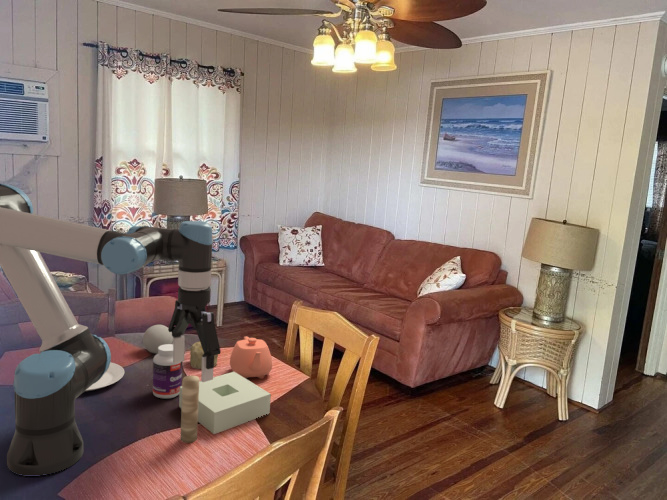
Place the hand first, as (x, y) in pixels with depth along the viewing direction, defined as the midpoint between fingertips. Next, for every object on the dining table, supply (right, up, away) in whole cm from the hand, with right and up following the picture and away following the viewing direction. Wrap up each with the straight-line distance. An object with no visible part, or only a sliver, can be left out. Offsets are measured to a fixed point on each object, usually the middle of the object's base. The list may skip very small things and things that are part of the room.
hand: (192, 370), depth 126 cm
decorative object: (-10, -9, +48) cm, 50 cm away
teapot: (+7, -12, +43) cm, 45 cm away
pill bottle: (-14, -13, +25) cm, 32 cm away
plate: (-40, -10, +29) cm, 50 cm away
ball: (-27, -7, +54) cm, 61 cm away
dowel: (-2, -18, +3) cm, 18 cm away
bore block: (+4, -15, +19) cm, 25 cm away
